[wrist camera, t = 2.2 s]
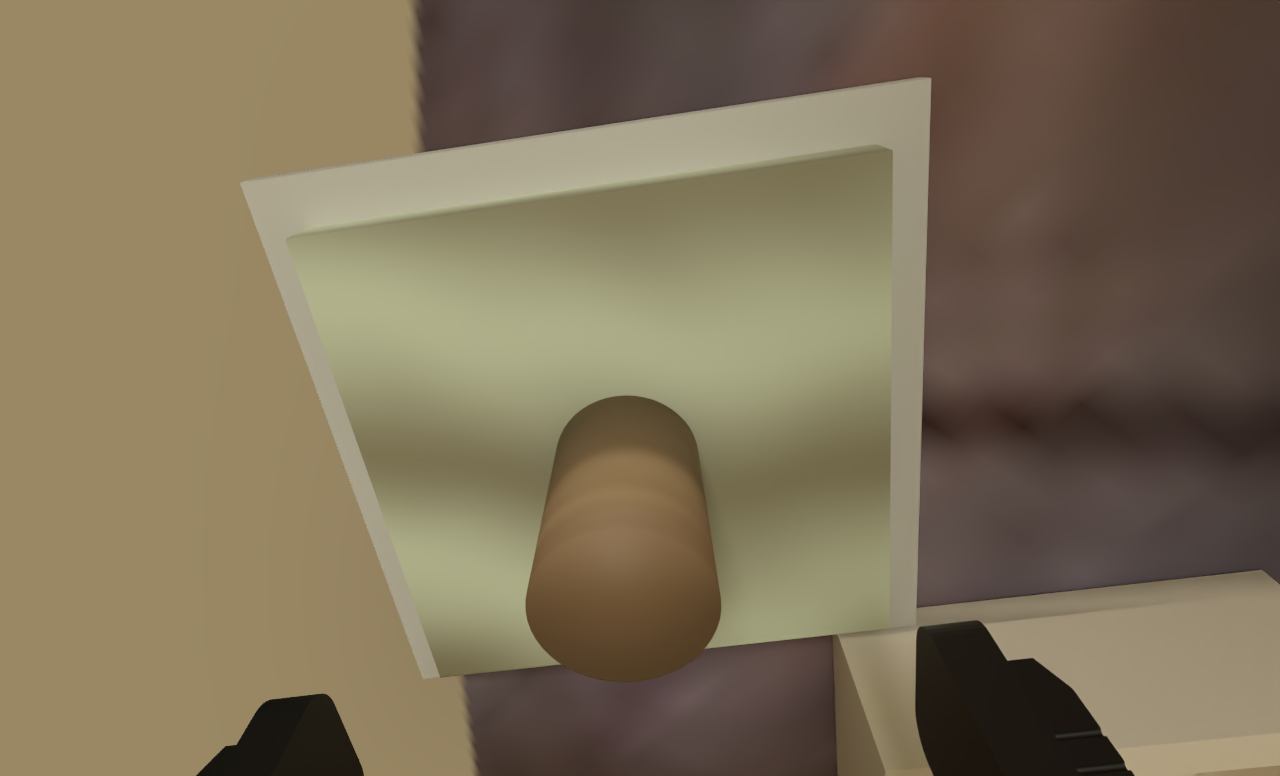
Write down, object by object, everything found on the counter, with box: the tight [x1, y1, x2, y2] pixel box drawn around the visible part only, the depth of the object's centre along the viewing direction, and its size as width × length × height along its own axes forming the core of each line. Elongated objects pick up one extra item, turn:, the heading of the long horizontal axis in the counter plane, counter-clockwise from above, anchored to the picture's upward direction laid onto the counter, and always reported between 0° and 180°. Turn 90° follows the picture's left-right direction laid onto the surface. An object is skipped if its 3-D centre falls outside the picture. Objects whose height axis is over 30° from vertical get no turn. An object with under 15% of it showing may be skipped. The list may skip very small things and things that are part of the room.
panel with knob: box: [240, 77, 931, 679], centre depth 16 cm, size 13×13×1 cm
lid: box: [285, 144, 893, 682], centre depth 13 cm, size 11×11×6 cm
